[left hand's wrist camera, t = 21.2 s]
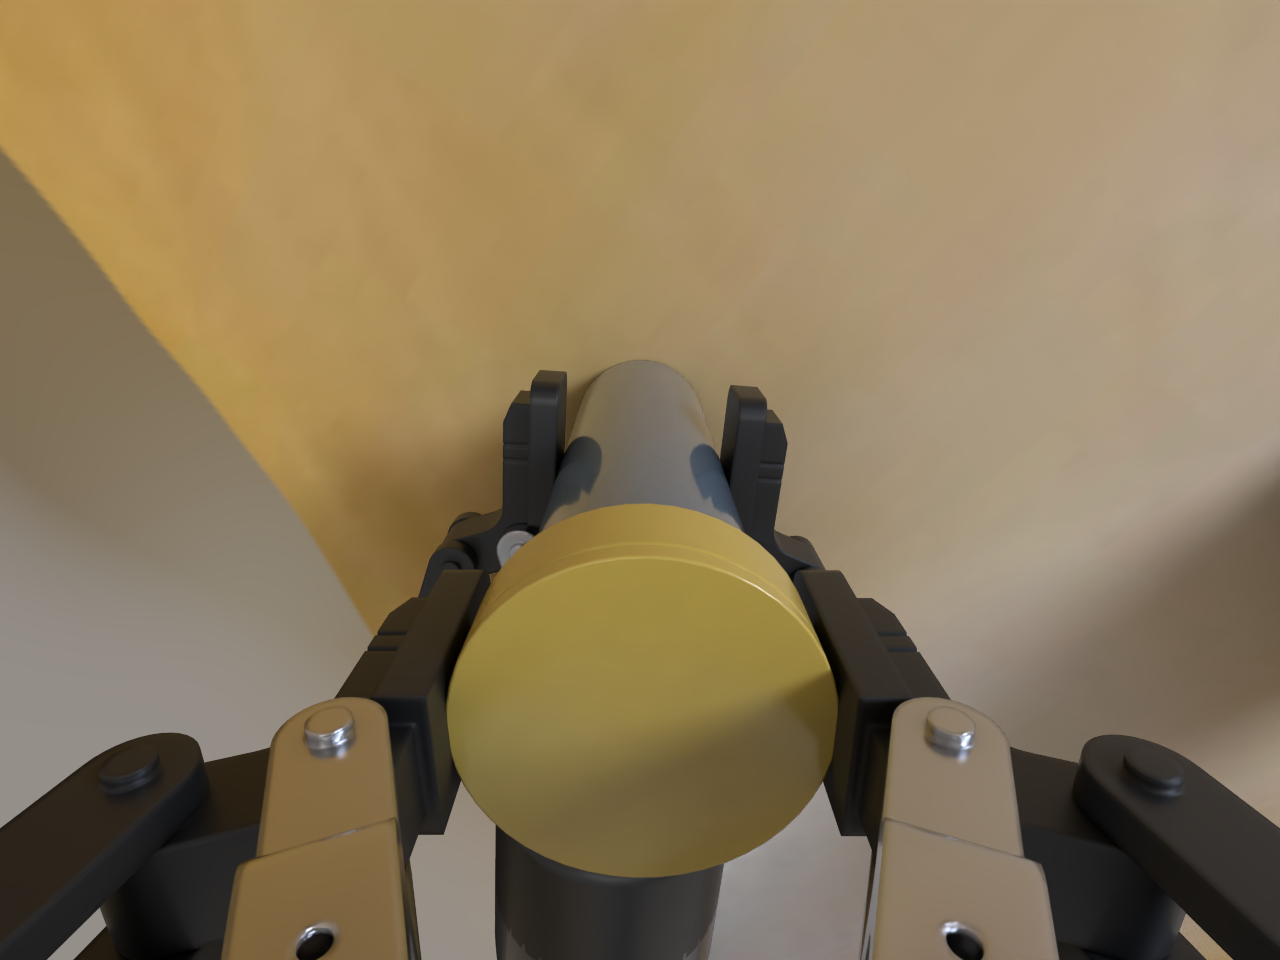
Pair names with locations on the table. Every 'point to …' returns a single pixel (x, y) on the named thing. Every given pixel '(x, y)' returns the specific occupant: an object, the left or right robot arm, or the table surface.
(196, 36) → the table surface
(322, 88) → the table surface
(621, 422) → the blue grey cylinder
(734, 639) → the lid
